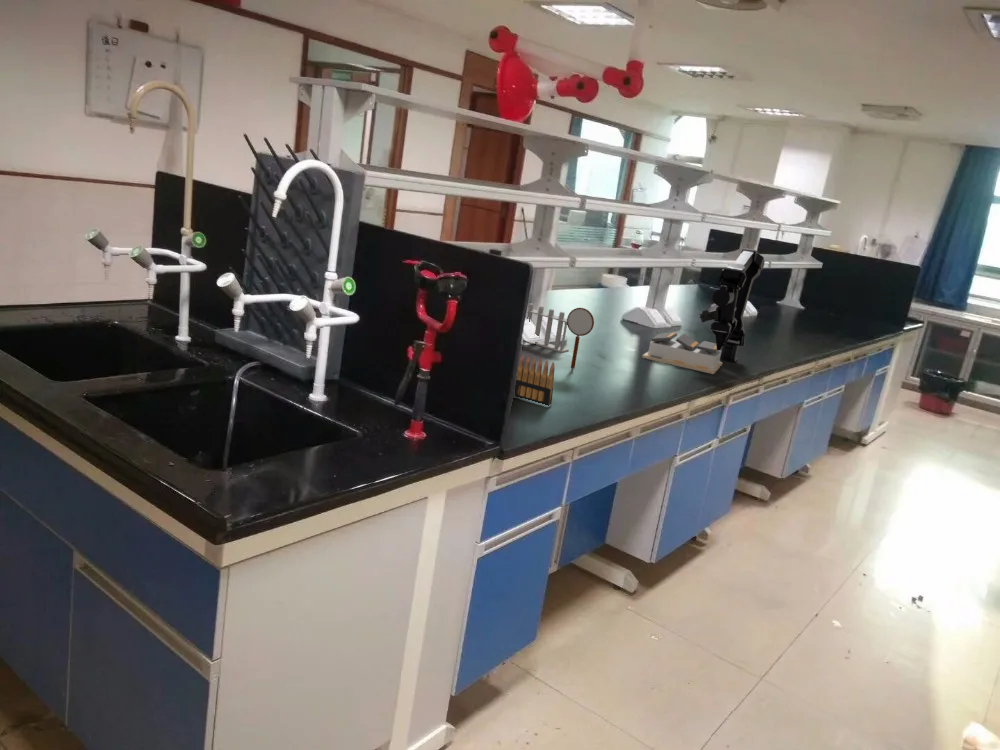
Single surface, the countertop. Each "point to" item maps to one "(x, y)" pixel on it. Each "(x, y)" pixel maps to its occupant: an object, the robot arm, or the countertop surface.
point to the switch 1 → (664, 337)
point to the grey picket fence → (549, 328)
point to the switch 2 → (708, 346)
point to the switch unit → (684, 356)
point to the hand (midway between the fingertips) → (720, 348)
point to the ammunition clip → (535, 381)
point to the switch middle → (687, 342)
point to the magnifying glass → (579, 327)
